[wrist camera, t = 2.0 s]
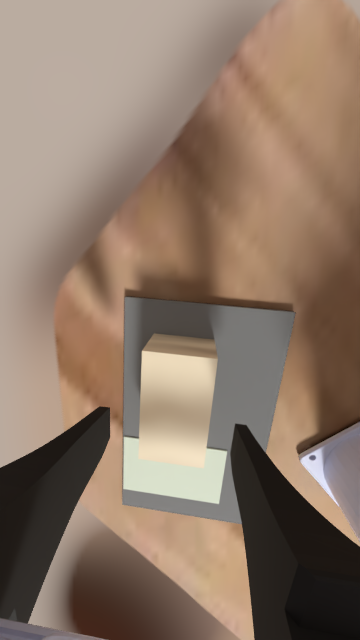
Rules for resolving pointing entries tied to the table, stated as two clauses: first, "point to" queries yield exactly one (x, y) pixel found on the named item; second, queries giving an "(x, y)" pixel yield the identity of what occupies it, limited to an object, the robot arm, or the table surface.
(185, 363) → the beige wooden block
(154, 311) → the mat
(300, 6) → the table surface
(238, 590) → the table surface
